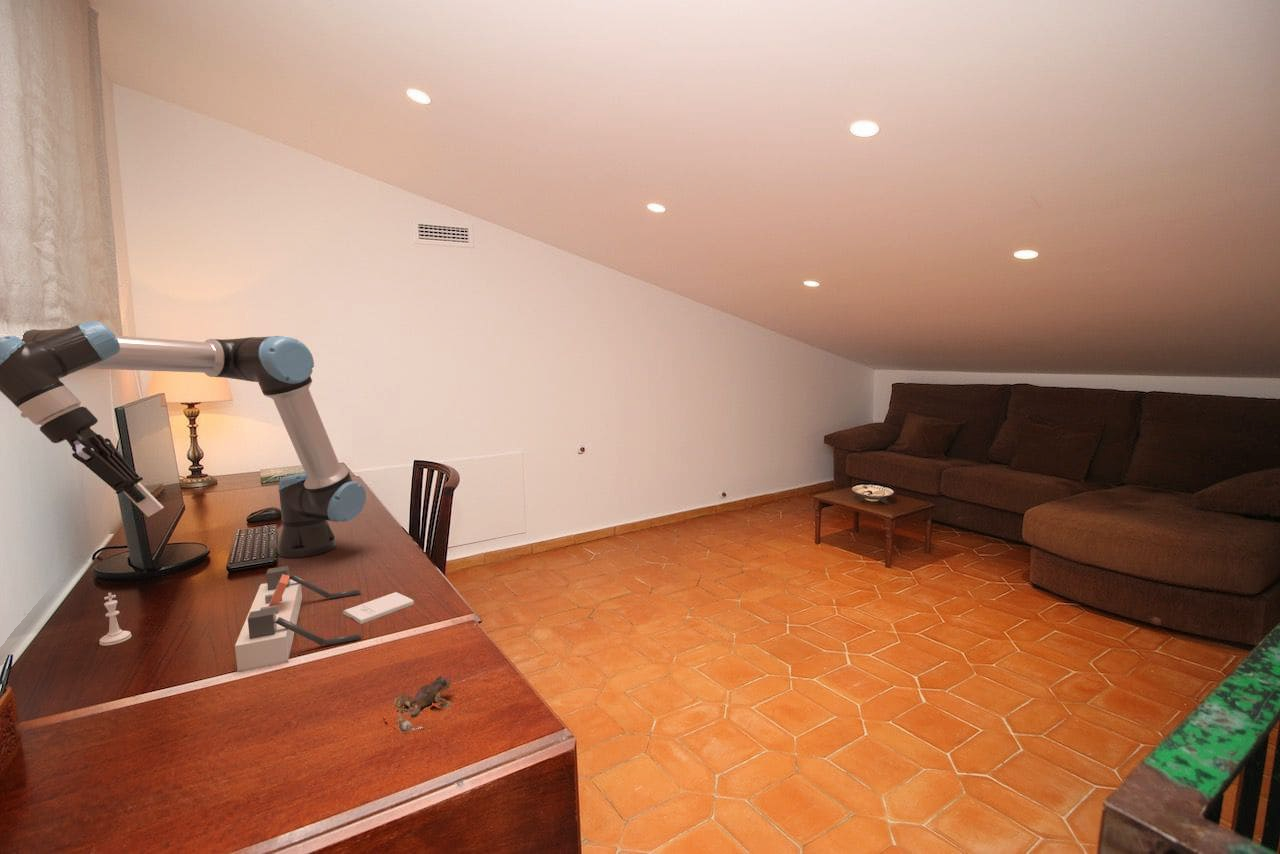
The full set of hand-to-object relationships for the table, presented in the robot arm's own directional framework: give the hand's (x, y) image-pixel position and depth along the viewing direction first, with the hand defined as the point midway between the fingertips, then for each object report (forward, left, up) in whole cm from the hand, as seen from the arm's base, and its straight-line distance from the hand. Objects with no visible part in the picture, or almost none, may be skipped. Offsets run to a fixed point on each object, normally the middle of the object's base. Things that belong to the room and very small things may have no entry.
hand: (156, 512), depth 117 cm
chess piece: (+7, -8, -27) cm, 29 cm away
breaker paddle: (-13, +15, -22) cm, 29 cm away
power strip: (-19, +18, -27) cm, 37 cm away
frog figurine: (-14, +65, -27) cm, 71 cm away
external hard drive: (-32, +24, -27) cm, 48 cm away
